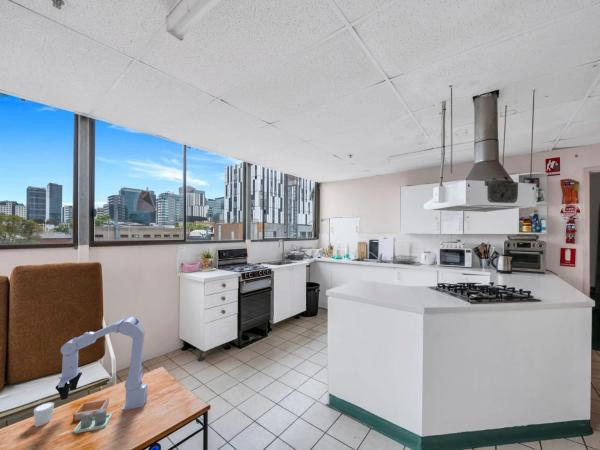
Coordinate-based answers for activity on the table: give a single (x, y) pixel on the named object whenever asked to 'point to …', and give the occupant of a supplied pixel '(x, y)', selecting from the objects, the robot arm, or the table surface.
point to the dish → (90, 408)
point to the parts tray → (92, 425)
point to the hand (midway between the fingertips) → (68, 394)
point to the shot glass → (43, 413)
